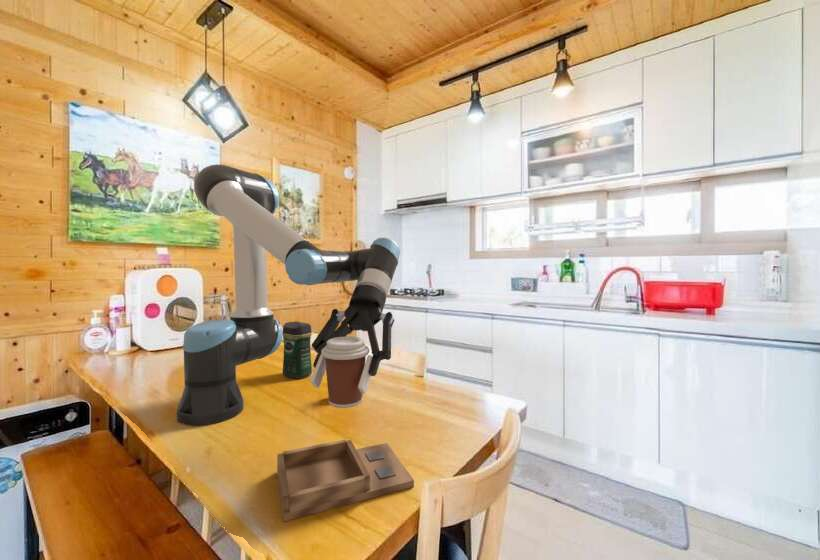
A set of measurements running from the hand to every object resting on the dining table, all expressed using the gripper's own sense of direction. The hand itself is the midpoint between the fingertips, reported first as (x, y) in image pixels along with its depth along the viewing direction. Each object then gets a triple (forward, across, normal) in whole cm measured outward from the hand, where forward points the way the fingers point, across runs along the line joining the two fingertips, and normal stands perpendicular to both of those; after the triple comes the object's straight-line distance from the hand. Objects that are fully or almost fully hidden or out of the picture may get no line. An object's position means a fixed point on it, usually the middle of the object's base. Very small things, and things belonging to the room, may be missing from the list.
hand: (337, 387), depth 66 cm
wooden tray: (+13, -2, -10) cm, 17 cm away
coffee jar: (-21, +40, -46) cm, 64 cm away
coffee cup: (+1, 0, -5) cm, 5 cm away
